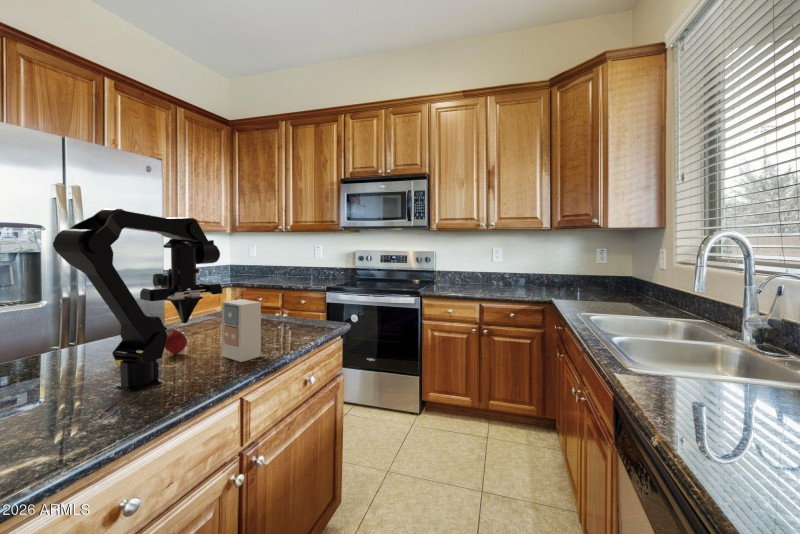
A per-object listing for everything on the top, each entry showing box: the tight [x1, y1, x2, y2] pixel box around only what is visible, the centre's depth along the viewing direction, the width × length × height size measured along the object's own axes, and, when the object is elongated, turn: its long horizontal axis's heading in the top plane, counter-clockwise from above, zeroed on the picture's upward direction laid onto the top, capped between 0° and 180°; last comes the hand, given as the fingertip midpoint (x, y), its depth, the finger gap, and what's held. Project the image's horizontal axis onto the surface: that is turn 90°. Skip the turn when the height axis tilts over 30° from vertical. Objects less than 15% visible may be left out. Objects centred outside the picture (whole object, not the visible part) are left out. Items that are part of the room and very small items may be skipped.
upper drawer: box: [224, 305, 238, 325], centre depth 105 cm, size 3×6×5 cm, turn 59°
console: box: [221, 298, 262, 363], centre depth 108 cm, size 6×9×16 cm
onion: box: [164, 327, 188, 356], centre depth 108 cm, size 6×6×8 cm
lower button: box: [224, 325, 239, 346], centre depth 106 cm, size 3×6×5 cm, turn 59°
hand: (184, 323), depth 97 cm, fingers closed
